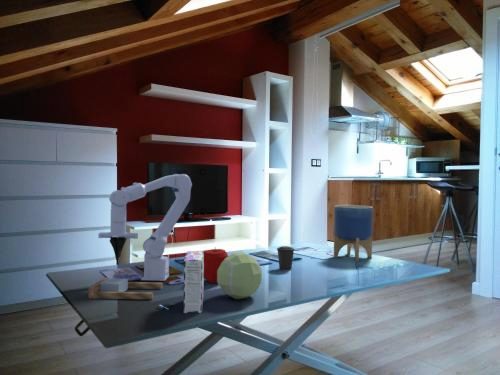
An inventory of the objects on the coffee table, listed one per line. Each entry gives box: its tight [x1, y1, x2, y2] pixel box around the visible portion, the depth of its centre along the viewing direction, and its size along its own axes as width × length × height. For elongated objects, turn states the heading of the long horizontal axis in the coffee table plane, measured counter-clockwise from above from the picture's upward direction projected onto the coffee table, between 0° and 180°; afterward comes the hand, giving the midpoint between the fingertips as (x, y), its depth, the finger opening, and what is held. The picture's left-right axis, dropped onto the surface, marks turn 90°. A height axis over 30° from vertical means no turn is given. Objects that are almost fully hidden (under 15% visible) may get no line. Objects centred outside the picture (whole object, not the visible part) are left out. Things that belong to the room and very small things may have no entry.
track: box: [88, 277, 163, 300], centre depth 140 cm, size 22×13×4 cm, turn 88°
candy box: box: [183, 250, 205, 314], centre depth 127 cm, size 14×6×16 cm, turn 5°
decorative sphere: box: [217, 252, 263, 300], centre depth 137 cm, size 15×15×15 cm
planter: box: [333, 204, 374, 263], centre depth 205 cm, size 19×19×26 cm
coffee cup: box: [276, 245, 295, 271], centre depth 178 cm, size 8×8×10 cm
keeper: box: [100, 277, 129, 292], centre depth 142 cm, size 7×7×4 cm
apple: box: [203, 247, 229, 284], centre depth 156 cm, size 11×10×14 cm
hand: (118, 257), depth 153 cm, fingers closed
